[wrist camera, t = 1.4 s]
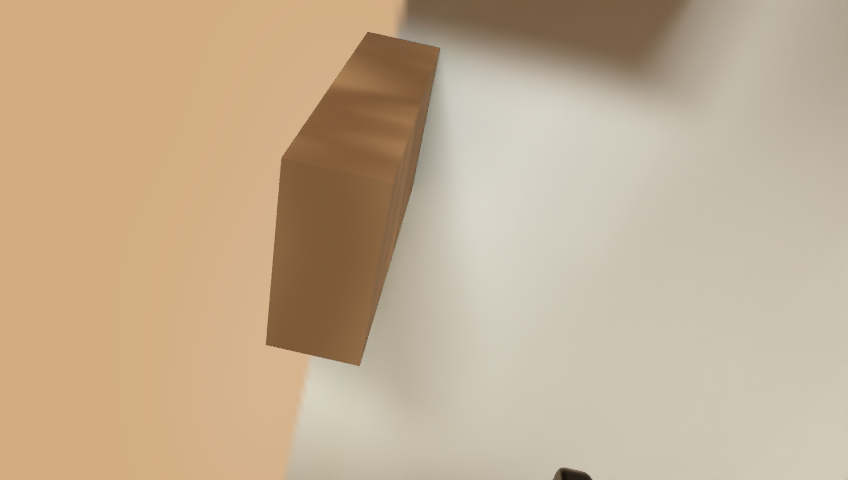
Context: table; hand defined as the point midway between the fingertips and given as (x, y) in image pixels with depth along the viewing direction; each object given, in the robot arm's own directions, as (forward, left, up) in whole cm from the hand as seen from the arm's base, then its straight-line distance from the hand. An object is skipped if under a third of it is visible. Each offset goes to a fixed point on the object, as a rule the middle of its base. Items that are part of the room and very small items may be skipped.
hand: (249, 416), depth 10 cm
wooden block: (0, 0, -12) cm, 12 cm away
